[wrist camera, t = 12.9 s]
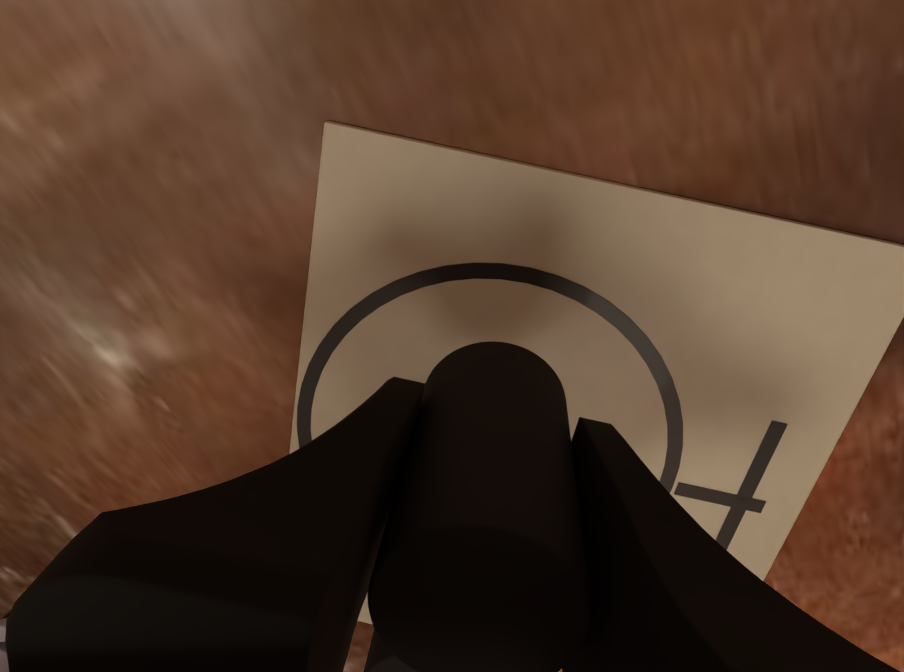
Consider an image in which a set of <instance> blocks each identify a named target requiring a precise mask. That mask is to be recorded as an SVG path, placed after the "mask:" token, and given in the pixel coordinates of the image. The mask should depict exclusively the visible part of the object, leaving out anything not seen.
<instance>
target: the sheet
mask: <svg viewBox="0 0 904 672" xmlns="http://www.w3.org/2000/svg"><path fill="white" fill-rule="evenodd" d="M903 317H904V244H900V243H895V242H890V241H886V240H881V239H877V238H872V237H867V236H863V235H858V234H853V233H849V232H844V231H839V230H835V229H830V228H825V227H821V226H816V225H811V224H807V223H802V222H797V221H793V220H788V219H783V218H779V217H774V216H770V215H765V214H760V213H756V212H751V211H746V210H742V209H737V208H732V207H728V206H723V205H718V204H714V203H709V202H704V201H700V200H695V199H690V198H686V197H681V196H677V195H672V194H667V193H663V192H658V191H653V190H649V189H644V188H639V187H635V186H630V185H625V184H621V183H616V182H611V181H607V180H602V179H597V178H593V177H588V176H584V175H579V174H574V173H570V172H565V171H560V170H556V169H551V168H546V167H542V166H537V165H532V164H528V163H523V162H518V161H514V160H509V159H504V158H500V157H495V156H491V155H486V154H481V153H477V152H472V151H467V150H463V149H458V148H453V147H449V146H444V145H439V144H435V143H430V142H425V141H421V140H416V139H411V138H407V137H402V136H398V135H393V134H388V133H384V132H379V131H374V130H370V129H365V128H360V127H356V126H351V125H346V124H342V123H337V122H332V121H326V122H325V123H324V130H323V139H322V149H321V158H320V168H319V177H318V187H317V196H316V206H315V215H314V224H313V234H312V243H311V253H310V262H309V272H308V281H307V290H306V300H305V309H304V319H303V328H302V338H301V347H300V357H299V366H298V375H297V385H296V394H295V404H294V413H293V423H292V432H291V442H290V451H289V454H290V453H292V452H294V451H296V450H298V449H299V448H301V447H303V446H304V445H306V444H308V443H309V442H311V441H312V440H314V439H315V438H317V437H318V436H320V435H321V434H323V433H324V432H326V431H327V430H328V429H330V428H331V427H333V426H334V425H336V424H337V423H338V422H340V421H341V420H342V419H344V418H345V417H346V416H347V415H349V414H350V413H351V412H353V411H354V410H355V409H356V408H358V407H359V406H360V405H361V404H362V403H364V402H365V401H366V400H367V399H368V398H369V397H370V396H372V395H373V394H374V393H375V392H376V391H377V390H378V389H379V388H380V387H381V386H382V385H383V384H384V383H385V382H386V381H387V380H389V379H390V378H392V377H398V378H403V379H408V380H412V381H417V382H421V383H426V381H427V379H428V376H429V375H430V373H431V372H432V370H433V369H434V367H435V366H436V365H437V364H438V363H439V362H440V361H441V360H442V359H443V358H444V357H446V356H447V355H449V354H450V353H452V352H453V351H455V350H457V349H459V348H461V347H464V346H467V345H470V344H474V343H479V342H488V341H496V342H505V343H511V344H514V345H518V346H521V347H523V348H525V349H528V350H530V351H531V352H533V353H535V354H537V355H538V356H539V357H541V358H542V359H543V360H545V361H546V362H547V363H548V364H549V365H550V366H551V368H552V369H553V370H554V371H555V373H556V374H557V376H558V378H559V379H560V381H561V383H562V386H563V389H564V392H565V397H566V404H567V411H568V419H569V427H570V435H571V441H572V438H573V435H574V432H575V429H576V425H577V422H578V419H579V417H582V418H586V419H591V420H596V421H600V422H605V423H609V424H612V425H613V426H614V427H615V429H616V430H617V431H618V432H619V433H620V434H621V435H622V437H623V438H624V439H625V440H626V442H627V443H628V444H629V445H630V446H631V448H632V449H633V450H634V451H635V453H636V454H637V455H638V456H639V458H640V459H641V460H642V461H643V463H644V464H645V465H646V466H647V467H648V469H649V470H650V471H651V472H652V473H653V475H654V476H655V477H656V478H657V479H658V480H659V482H660V483H661V484H662V485H663V486H664V487H665V489H666V490H667V491H668V492H669V493H670V494H671V495H672V496H673V498H674V499H675V500H676V501H677V502H678V503H679V504H680V505H681V506H682V507H683V508H684V509H685V510H686V511H687V512H688V513H689V515H690V516H691V517H692V518H693V519H694V520H695V521H696V522H697V523H698V524H699V525H700V526H701V527H702V528H703V529H704V530H705V531H706V532H707V533H708V534H709V535H710V536H711V537H712V538H713V539H715V540H716V541H717V542H718V543H719V544H720V545H721V546H722V547H723V548H725V549H726V550H727V551H728V552H729V553H730V554H731V555H733V556H734V557H735V558H736V559H737V560H738V561H739V562H740V563H742V564H743V565H744V566H745V567H746V568H747V569H749V570H750V571H751V572H752V573H754V574H755V575H756V576H757V577H759V578H760V579H761V580H762V581H764V579H765V577H766V575H767V573H768V571H769V569H770V567H771V566H772V564H773V562H774V560H775V558H776V556H777V554H778V552H779V550H780V549H781V547H782V545H783V543H784V541H785V539H786V537H787V535H788V534H789V532H790V530H791V528H792V526H793V524H794V522H795V520H796V518H797V517H798V515H799V513H800V511H801V509H802V507H803V505H804V503H805V502H806V500H807V498H808V496H809V494H810V492H811V490H812V488H813V486H814V485H815V483H816V481H817V479H818V477H819V475H820V473H821V471H822V469H823V468H824V466H825V464H826V462H827V460H828V458H829V456H830V454H831V453H832V451H833V449H834V447H835V445H836V443H837V441H838V439H839V437H840V436H841V434H842V432H843V430H844V428H845V426H846V424H847V422H848V420H849V419H850V417H851V415H852V413H853V411H854V409H855V407H856V405H857V404H858V402H859V400H860V398H861V396H862V394H863V392H864V390H865V388H866V387H867V385H868V383H869V381H870V379H871V377H872V375H873V373H874V371H875V370H876V368H877V366H878V364H879V362H880V360H881V358H882V356H883V355H884V353H885V351H886V349H887V347H888V345H889V343H890V341H891V339H892V338H893V336H894V334H895V332H896V330H897V328H898V326H899V324H900V323H901V321H902V319H903ZM367 596H368V593H367V595H366V598H365V601H364V603H363V606H362V609H361V611H360V614H359V617H358V620H357V621H360V622H365V623H370V624H373V623H372V621H371V617H370V613H369V609H368V598H367Z"/></svg>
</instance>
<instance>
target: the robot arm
mask: <svg viewBox="0 0 904 672" xmlns="http://www.w3.org/2000/svg"><path fill="white" fill-rule="evenodd" d="M424 386H425V383H421V382H417V381H412V380H408V379H403V378H398V377H392V378H390V379H389V380H387V381H386V382H385V383H384V384H383V385H382V386H381V387H380V388H379V389H378V390H377V391H376V392H375V393H374V394H373V395H372V396H370V397H369V398H368V399H367V400H366V401H365V402H364V403H362V404H361V405H360V406H359V407H358V408H356V409H355V410H354V411H353V412H351V413H350V414H349V415H347V416H346V417H345V418H344V419H342V420H341V421H340V422H338V423H337V424H336V425H334V426H333V427H331V428H330V429H328V430H327V431H326V432H324V433H323V434H321V435H320V436H318V437H317V438H315V439H314V440H312V441H311V442H309V443H308V444H306V445H304V446H303V447H301V448H299V449H298V450H296V451H294V452H292V453H290V454H289V455H287V456H285V457H283V458H281V459H279V460H277V461H275V462H273V463H271V464H269V465H266V466H264V467H261V468H259V469H257V470H254V471H252V472H249V473H247V474H244V475H242V476H240V477H237V478H235V479H232V480H230V481H227V482H224V483H221V484H218V485H215V486H212V487H209V488H206V489H203V490H199V491H196V492H192V493H189V494H185V495H182V496H178V497H174V498H170V499H166V500H162V501H157V502H152V503H148V504H143V505H138V506H133V507H128V508H124V509H119V510H113V511H108V512H102V513H101V514H99V515H98V516H97V517H96V518H95V519H94V520H93V521H92V522H91V523H90V524H89V525H88V526H87V527H85V528H84V529H83V530H82V531H81V532H80V533H79V534H78V535H76V536H75V537H74V538H73V539H72V540H71V541H70V542H69V544H68V545H67V546H66V547H65V548H64V549H63V550H62V551H61V552H60V553H59V554H58V555H57V556H56V557H55V558H54V559H53V561H52V562H51V563H50V564H49V565H48V566H47V567H46V568H45V569H44V571H43V572H42V573H41V574H40V575H39V576H38V577H37V578H36V579H35V581H34V582H33V583H32V584H31V585H30V586H29V587H28V588H27V589H26V591H25V592H24V593H23V594H22V595H21V596H20V597H19V598H18V599H17V601H16V602H15V604H14V606H13V608H12V610H11V612H10V614H9V616H8V618H4V619H1V620H0V672H343V669H344V665H345V662H346V658H347V654H348V650H349V647H350V643H351V639H352V636H353V632H354V629H355V626H356V623H357V620H358V617H359V614H360V611H361V609H362V606H363V603H364V601H365V598H366V595H367V593H368V586H369V583H370V579H371V576H372V572H373V568H374V565H375V561H376V558H377V554H378V550H379V547H380V543H381V540H382V536H383V533H384V529H385V525H386V522H387V518H388V515H389V511H390V508H391V504H392V500H393V497H394V493H395V490H396V486H397V483H398V479H399V475H400V472H401V468H402V465H403V462H404V459H405V456H406V453H407V450H408V448H409V445H410V442H411V439H412V436H413V432H414V429H415V425H416V421H417V418H418V414H419V410H420V406H421V401H422V396H423V391H424ZM571 443H572V451H573V459H574V467H575V475H576V483H577V491H578V499H579V507H580V515H581V522H582V530H583V538H584V546H585V554H586V562H587V570H588V578H589V586H590V594H591V602H592V620H591V626H590V629H589V633H588V636H587V638H586V640H585V642H584V644H583V646H582V648H581V649H580V650H579V652H578V653H577V654H576V656H575V657H574V658H573V659H572V660H571V661H570V662H569V663H568V664H567V665H566V666H564V667H563V668H562V671H563V672H900V671H898V670H896V669H894V668H893V667H891V666H889V665H887V664H886V663H884V662H882V661H880V660H879V659H877V658H875V657H873V656H871V655H870V654H868V653H867V652H865V651H863V650H862V649H860V648H859V647H857V646H855V645H854V644H852V643H851V642H849V641H848V640H846V639H845V638H843V637H841V636H840V635H838V634H837V633H835V632H834V631H832V630H830V629H829V628H827V627H826V626H824V625H823V624H821V623H820V622H818V621H817V620H816V619H814V618H813V617H811V616H810V615H808V614H807V613H805V612H804V611H802V610H801V609H800V608H798V607H797V606H795V605H794V604H793V603H791V602H790V601H789V600H787V599H786V598H785V597H783V596H782V595H781V594H779V593H778V592H777V591H775V590H774V589H773V588H771V587H770V586H769V585H768V584H766V583H765V582H764V581H762V580H761V579H760V578H759V577H757V576H756V575H755V574H754V573H752V572H751V571H750V570H749V569H747V568H746V567H745V566H744V565H743V564H742V563H740V562H739V561H738V560H737V559H736V558H735V557H734V556H733V555H731V554H730V553H729V552H728V551H727V550H726V549H725V548H723V547H722V546H721V545H720V544H719V543H718V542H717V541H716V540H715V539H713V538H712V537H711V536H710V535H709V534H708V533H707V532H706V531H705V530H704V529H703V528H702V527H701V526H700V525H699V524H698V523H697V522H696V521H695V520H694V519H693V518H692V517H691V516H690V515H689V513H688V512H687V511H686V510H685V509H684V508H683V507H682V506H681V505H680V504H679V503H678V502H677V501H676V500H675V499H674V498H673V496H672V495H671V494H670V493H669V492H668V491H667V490H666V489H665V487H664V486H663V485H662V484H661V483H660V482H659V480H658V479H657V478H656V477H655V476H654V475H653V473H652V472H651V471H650V470H649V469H648V467H647V466H646V465H645V464H644V463H643V461H642V460H641V459H640V458H639V456H638V455H637V454H636V453H635V451H634V450H633V449H632V448H631V446H630V445H629V444H628V443H627V442H626V440H625V439H624V438H623V437H622V435H621V434H620V433H619V432H618V431H617V430H616V429H615V427H614V426H613V425H612V424H609V423H605V422H600V421H596V420H591V419H586V418H582V417H579V419H578V422H577V425H576V429H575V432H574V435H573V438H572V441H571Z"/></svg>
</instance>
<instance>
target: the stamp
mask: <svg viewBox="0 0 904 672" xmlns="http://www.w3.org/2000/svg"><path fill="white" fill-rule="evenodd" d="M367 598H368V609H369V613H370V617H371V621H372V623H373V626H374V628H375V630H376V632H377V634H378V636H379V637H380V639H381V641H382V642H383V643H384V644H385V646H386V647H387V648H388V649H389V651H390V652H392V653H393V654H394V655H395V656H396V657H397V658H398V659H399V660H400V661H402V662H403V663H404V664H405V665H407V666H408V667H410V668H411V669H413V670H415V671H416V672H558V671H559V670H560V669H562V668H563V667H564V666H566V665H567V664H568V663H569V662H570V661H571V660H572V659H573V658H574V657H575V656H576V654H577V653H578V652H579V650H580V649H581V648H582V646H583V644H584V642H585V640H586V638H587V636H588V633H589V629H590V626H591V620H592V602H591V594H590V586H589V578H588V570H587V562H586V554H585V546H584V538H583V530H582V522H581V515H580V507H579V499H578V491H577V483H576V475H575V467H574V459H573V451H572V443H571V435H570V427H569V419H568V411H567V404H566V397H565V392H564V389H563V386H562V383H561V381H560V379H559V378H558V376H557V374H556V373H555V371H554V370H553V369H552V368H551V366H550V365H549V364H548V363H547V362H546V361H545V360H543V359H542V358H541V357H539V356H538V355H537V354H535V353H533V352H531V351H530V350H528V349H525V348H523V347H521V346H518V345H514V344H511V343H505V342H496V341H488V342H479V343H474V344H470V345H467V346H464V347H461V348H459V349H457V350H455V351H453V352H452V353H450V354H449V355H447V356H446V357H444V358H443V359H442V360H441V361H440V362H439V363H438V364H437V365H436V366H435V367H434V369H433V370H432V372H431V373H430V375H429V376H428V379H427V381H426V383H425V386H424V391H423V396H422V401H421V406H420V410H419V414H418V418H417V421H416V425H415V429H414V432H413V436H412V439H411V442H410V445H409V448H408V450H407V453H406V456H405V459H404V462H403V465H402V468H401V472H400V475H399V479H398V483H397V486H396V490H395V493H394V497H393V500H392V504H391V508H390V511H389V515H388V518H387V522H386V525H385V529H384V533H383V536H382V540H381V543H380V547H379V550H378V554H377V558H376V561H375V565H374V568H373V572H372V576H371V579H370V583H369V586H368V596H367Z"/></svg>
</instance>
